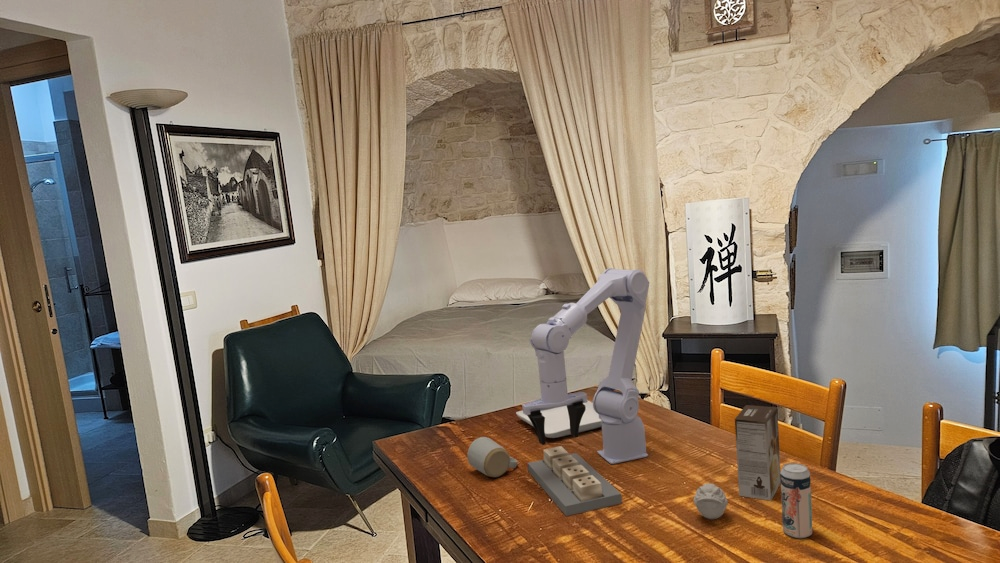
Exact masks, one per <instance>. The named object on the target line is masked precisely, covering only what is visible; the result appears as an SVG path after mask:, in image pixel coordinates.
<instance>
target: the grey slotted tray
mask: <svg viewBox="0 0 1000 563" xmlns="http://www.w3.org/2000/svg"><path fill="white" fill-rule="evenodd" d="M568 455H571V456H572V457H573V458H575V459H576V460H577V461H578V465H582V466H583V467H584V468H585V469H586V470H587V471H589V475H593V476H594V477H595V478H596V479H597V480H598V481H599V482H600V483H601V487H602V497H600V498H596V499H591V500H587V501H582V502H581V501H580V500H579V499H578V498H577V497H576V496H575V495H574V492H573V489H572V490H569V489H568V488H567V487H566V486H565V484H564V483H563V478H562V479H559V478H558V477H557V476H556V475H555V474H554V473H553V468H552V469H550V468H549V467H548V466H547V465H546V464H545V463H544V459H540V460H536V461H530V462H527V463H526V464H527V471H528V473H529V474H530V475H531V476H532V478H533V479H534V480H535V481H536V482H537V483H538V485H539V486H540V487H541V488H542V489H543V490H544V492H545V493H546V494H547V495H548V496H549V498H551V500H552V501H553V502H554V504H555V505H556V506H557V507H558V508H559V509H560V510H561V512H562V513H563V514H564V515H565V517H567V516H572V515H577V514H580V513H586V512H590V511H594V510H598V509H599V510H600V509H603V508H607V507H612V506H616V505H620V504H623V500H622V499H623V497H622V493H621V492H620V491H619V490H618V489H617V488H616V487H614V486H613V485H612V484H611V483H610V482H609V481H608V480H607V479H606V478H604V476H603V475H601V474H600V473H599V472H598V471H597V470H596V469H594V468H593V467H592V466H591V465H590V464H589V463H588V462H587V461H586V460H585V459H584V458H582V456H580V455H579V454H578V453H577V452H575V453H568Z"/></svg>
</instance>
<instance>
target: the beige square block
mask: <svg viewBox="0 0 1000 563" xmlns="http://www.w3.org/2000/svg"><path fill="white" fill-rule="evenodd" d="M572 480H573V492H574V495H575V496H576V497H577V498H578V500H579V501H580V502H582V501H587V500H591V499H596V498H600V497H602V487H601V483H600V482H599V481H598V480H597V479H596V478H595V477H594V476H593V475H590V476H585V477H581V478H576V479H572Z"/></svg>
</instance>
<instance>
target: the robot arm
mask: <svg viewBox="0 0 1000 563" xmlns="http://www.w3.org/2000/svg"><path fill="white" fill-rule="evenodd" d="M649 288H650V281H649V279H648V277H647V276H646V274H645V272H644V271H643V270H641V269H638V268H637V269H636V268H635V269H619V268H612V267H610V268H606V269H605V270H604V271H603V272H602V273H601V274H599V275H598V277H597V281H596V282H595V283H594V284H593V286H592V287H590V289H589V290H587V292H586V293H585V294H584V295H583V296H582V297H581V298H580V299H579V300H578V301H577V302H576V303H575V302H569V303H564V304H562V306H561V309H560V310H559V311H557V313H555V314H554V315H553V316H551V317H549V318H548V320H547V322H546V323H540V324H538V325H537V326H536V327H535V328H533V330H532V333H531V338H529V343H530V345H531V347H532V348H533V349H534V350H535V357H536V358H537V364H538V367H537V368H538V373H539V374H538V375H539V376H538V378H539V386H540V387H539V388H540V396H541V398H538V399H536V400H532V401H529V402H527V403H523V404H521V406H522V408H521V409H522V411H523V413H524V414H525V415H527V416H528V417H529V419H530V421H531V422H532V424H533V426H534V427H533V426H532V427H533V428H534V431H535V433H536V436H537V439H538V442H539V444H540V445H542V446H546V442H547V440H546V436H545V431H544V424H545V417H544V416H542V413H541V412H540V411H544V410H548V409H553V408H558V407H562V406H567V409H568V414H569V420H570V432H571V435H570V436H572V437H573V438H574V439H576V438H578V437H579V433H578V431H579V426H580V422H581V419H582V416H583V414H584V412H585V410H586V407H585V405H584V404H583V403H586V402H588V401H589V400H588V393H587V392H584V391H580V392H573V393H572V392H571V393H568V384H567V373H566V361H565V350H566V349H567V348H568V345H569V343H570V339H571V338H572V336H573V335H575V333H576V332H577V331H578V330H580V329H581V328H582V327H583V326H584V325H585V324H586V323H587V321H588V314H590V313H591V312H593V311H594V310H595V309H596V308H597V307H599V306H600V305H601V304H603V303H604V302H606V300H608V299H611V301H613V303H614V304H616V305H617V307H618V308H619V310H620V316H619V319H618V326H617V331H616V335H615V340H614V346H613V351H612V354H611V355H612V356H611V360H610V365H609V371H608V376H606V377H605V378H603V379H602V380H601V381H599V383H598V388H597V391H595V394H594V395H593V398H592V403H593V408H594V410H595V412H596V413H598V414H599V418H600V419H601V424H602V427H601V434H602V446H603V447H602V448H603V449H600V450H597V452H596V453H597V454H598V455H599V456H601V457H602V458H603V459H604V460H605V461H607V462H608V463H609V464H610V465H614V464H619V463H623V462H630V461H633V460H637V459H642V458H643V459H644V458H647V457H648V456H649V454H648V453H647V445H646V431H645V424H644V423H643V420H642V418H641V417H640V416H639V415H638V413H639V409H640V404H639V395H640V390H639V389H638V387H636V385H635V384H634V383H633V381H632V380H633V376H634V375H633V374H634V370H635V366H636V359H637V354H638V351H639V350H638V349H639V344H640V340H641V335H642V329H643V325H644V319H645V314H646V309H647V307H646V306H647V299H648V292H649ZM616 390H618V391H616ZM587 400H588V401H587Z"/></svg>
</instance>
